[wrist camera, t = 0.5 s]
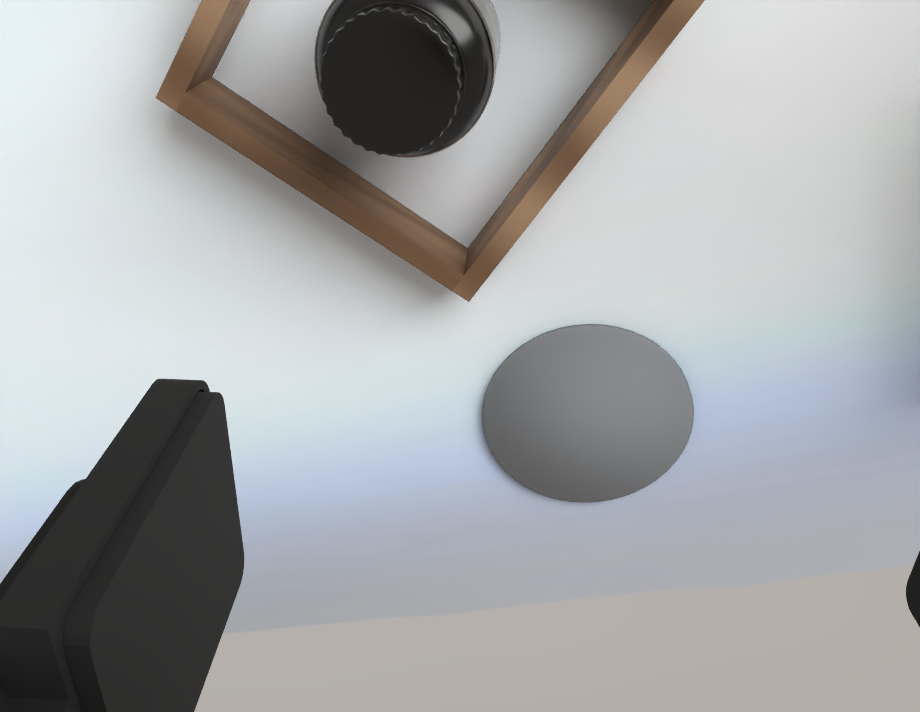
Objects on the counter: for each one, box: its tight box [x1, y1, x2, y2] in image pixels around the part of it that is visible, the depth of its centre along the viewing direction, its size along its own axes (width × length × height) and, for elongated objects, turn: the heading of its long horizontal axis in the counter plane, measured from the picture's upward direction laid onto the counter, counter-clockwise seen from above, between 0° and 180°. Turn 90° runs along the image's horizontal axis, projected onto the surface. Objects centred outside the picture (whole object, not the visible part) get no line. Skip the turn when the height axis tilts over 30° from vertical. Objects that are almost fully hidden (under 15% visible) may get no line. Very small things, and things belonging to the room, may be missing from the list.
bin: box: [156, 0, 704, 302], centre depth 36 cm, size 17×17×4 cm
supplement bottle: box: [314, 0, 500, 158], centre depth 32 cm, size 7×7×12 cm
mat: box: [483, 324, 694, 502], centre depth 47 cm, size 12×12×1 cm
